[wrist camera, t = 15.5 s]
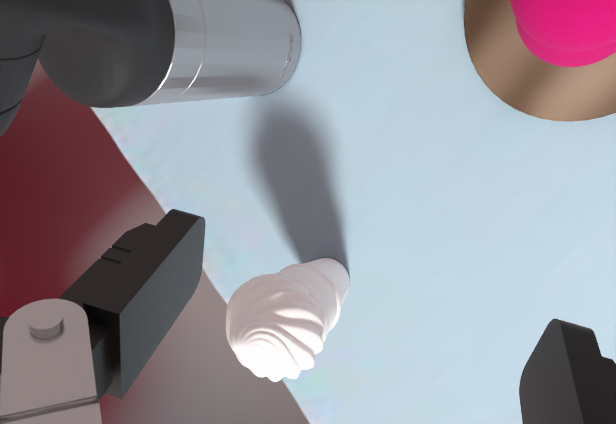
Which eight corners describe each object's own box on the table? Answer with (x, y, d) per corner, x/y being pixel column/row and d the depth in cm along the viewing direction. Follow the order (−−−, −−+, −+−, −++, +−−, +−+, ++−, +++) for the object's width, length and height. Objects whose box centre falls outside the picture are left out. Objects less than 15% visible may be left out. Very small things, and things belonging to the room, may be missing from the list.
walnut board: (436, 79, 43) (433, 79, 42) (519, -132, 37) (518, -138, 36) (632, 151, 38) (634, 153, 37) (761, -77, 32) (767, -82, 31)
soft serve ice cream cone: (382, 313, 50) (309, 409, 36) (305, 325, 53) (213, 415, 39) (354, 228, 49) (269, 292, 35) (279, 246, 53) (174, 310, 39)
